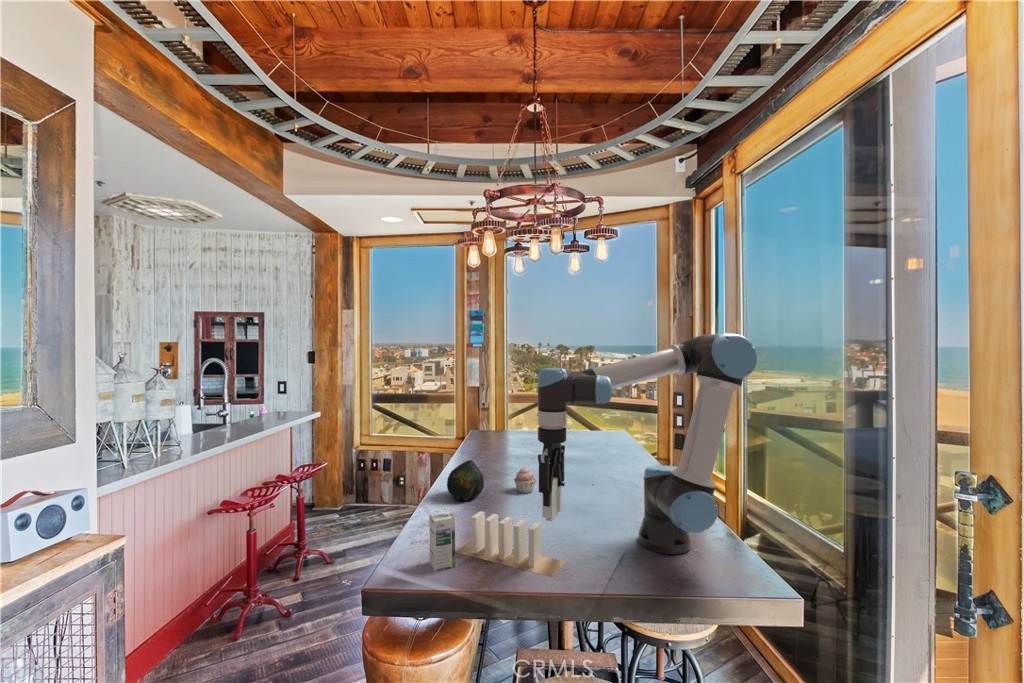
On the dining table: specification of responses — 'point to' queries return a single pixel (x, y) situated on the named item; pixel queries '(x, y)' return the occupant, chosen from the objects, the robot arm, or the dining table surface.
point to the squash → (465, 481)
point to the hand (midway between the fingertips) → (552, 513)
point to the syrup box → (442, 540)
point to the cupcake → (525, 481)
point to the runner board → (543, 567)
